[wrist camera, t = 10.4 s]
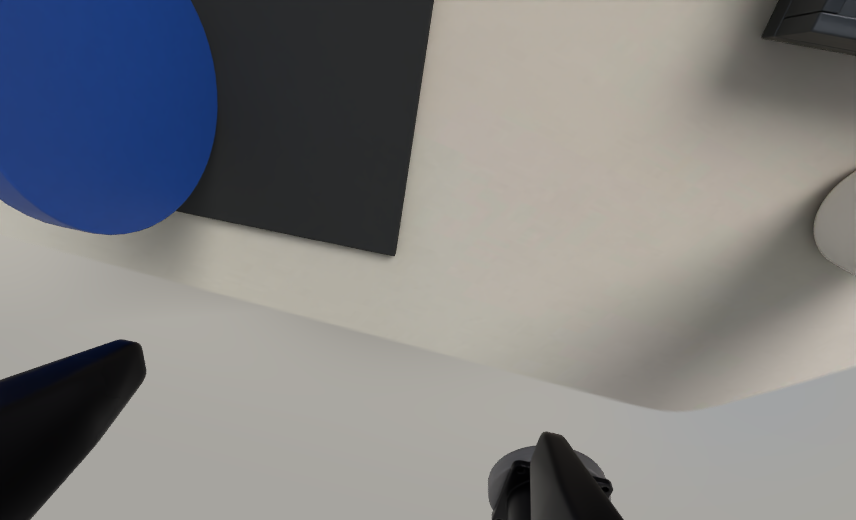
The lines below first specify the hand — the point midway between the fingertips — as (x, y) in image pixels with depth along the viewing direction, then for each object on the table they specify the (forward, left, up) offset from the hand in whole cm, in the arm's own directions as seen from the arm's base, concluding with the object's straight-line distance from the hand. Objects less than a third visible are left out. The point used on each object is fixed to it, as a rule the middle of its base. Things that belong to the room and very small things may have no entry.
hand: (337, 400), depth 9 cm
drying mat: (+4, +11, -13) cm, 17 cm away
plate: (+4, +11, -13) cm, 17 cm away
